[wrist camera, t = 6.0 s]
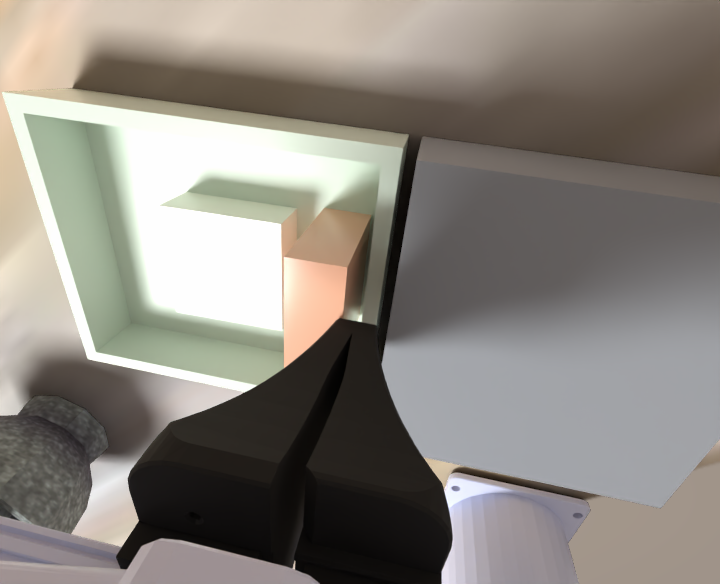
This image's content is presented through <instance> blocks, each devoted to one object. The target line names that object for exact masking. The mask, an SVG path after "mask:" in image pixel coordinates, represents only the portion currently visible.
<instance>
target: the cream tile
mask: <svg viewBox="0 0 720 584" xmlns="http://www.w3.org/2000/svg"><path fill="white" fill-rule="evenodd" d="M158 207H159V213H160V218H161V224H162V230H163V236H164V242H165V247H166V253H167V259H168V265H169V270H170V276H171V282H172V288H173V293H174V299H175V305H176V311H177V312H180V313H186V314H191V315H197V316H202V317H208V318H213V319H219V320H224V321H230V322H235V323H241V324H246V325H252V326H257V327H263V328H268V329H274V330H279V331H282V330H283V329H284V256H285V255H286V254H287V252H288V251H289V250H290V249H291V248H292V246H293V245H294V244H295V243H296V242H297V208H292V207H285V206H279V205H272V204H265V203H258V202H252V201H245V200H238V199H231V198H225V197H218V196H211V195H204V194H197V193H191V192H185V193H183V194H181V195H179V196H177V197H175V198H173V199H171V200H169V201H167V202H165V203H162V204H160V205H158Z"/></svg>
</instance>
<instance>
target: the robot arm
mask: <svg viewBox="0 0 720 584" xmlns="http://www.w3.org/2000/svg"><path fill="white" fill-rule="evenodd" d="M377 335H378V327H377V326H376V325H374V324H369V323H364V322H358V321H353V320H347V319H342V318H339V319H337V320H336V321H335V322H334V323H333V324H332V325H331V327H330V328H329V329H328V330H327V331H326V332H325V333H324V334H323V335H322V336H321V337H320V338H319V339H318V340H317V341H316V342H315V343H314V344H312V345H311V346H310V347H309V348H308V349H307V350H306V351H305V352H304V353H302V354H301V355H300V356H299V357H297V358H296V359H295V360H294V361H292V362H291V363H290V364H289V365H287V366H286V367H285V368H283V369H282V370H281V371H279V372H278V373H276V374H275V375H273V376H272V377H270V378H269V379H267V380H266V381H264V382H262V383H261V384H259V385H257V386H255V387H254V388H252V389H250V390H248V391H247V392H245V393H243V394H241V395H239V396H237V397H235V398H233V399H231V400H228V401H226V402H224V403H222V404H219V405H217V406H215V407H212V408H210V409H207V410H205V411H202V412H199V413H196V414H193V415H191V416H188V417H185V418H182V419H179V420H176V421H173V422H170V423H169V425H168V426H167V427H166V428H165V429H164V430H163V431H162V432H161V433H160V434H159V435H158V436H157V438H156V439H155V440H154V441H153V442H152V443H151V445H150V446H149V447H148V449H147V450H146V451H145V453H144V454H143V455H142V457H141V458H140V459H139V460H138V462H137V463H136V464H135V466H134V467H133V468H132V470H131V471H130V474H129V477H128V484H129V491H130V494H131V497H132V500H133V503H134V506H135V509H136V512H137V516H138V519H139V522H138V523H137V525H136V526H135V528H134V529H133V531H132V532H131V534H130V536H129V537H128V539H127V540H126V542H125V543H124V545H123V546H122V547H119V546H115V545H111V544H107V543H104V542H100V541H96V540H92V539H88V538H84V537H80V536H76V535H72V534H69V533H65V532H61V531H57V530H53V529H49V528H45V527H41V526H37V525H33V524H30V523H26V522H22V521H18V520H14V519H10V518H6V517H2V516H0V584H579V582H578V578H577V575H576V571H575V567H574V564H573V560H572V556H571V553H570V549H569V545H568V542H569V541H570V540H571V538H572V537H573V535H574V534H575V533H576V531H577V530H578V528H579V527H580V525H581V524H582V522H583V521H584V520H585V518H586V517H587V515H588V514H589V512H590V507H589V504H588V502H586V501H585V500H582V499H577V498H573V497H568V496H564V495H559V494H554V493H550V492H545V491H541V490H536V489H531V488H527V487H522V486H518V485H513V484H508V483H504V482H499V481H495V480H490V479H486V478H481V477H476V476H472V475H467V474H463V473H452V474H450V476H449V478H448V481H447V484H446V487H445V489H443V485H442V483H441V481H440V480H439V479H438V477H437V476H436V475H435V473H434V472H433V471H432V469H431V468H430V467H429V465H428V464H427V462H426V461H425V459H424V458H423V456H422V455H421V453H420V452H419V450H418V449H417V447H416V445H415V444H414V442H413V440H412V438H411V437H410V435H409V433H408V431H407V429H406V428H405V426H404V424H403V422H402V420H401V418H400V416H399V414H398V411H397V409H396V407H395V405H394V402H393V400H392V397H391V395H390V392H389V389H388V386H387V383H386V380H385V376H384V373H383V369H382V364H381V360H380V355H379V349H378V338H377ZM294 560H295V561H296V562H295V570H294V569H292V568H293V564H294Z"/></svg>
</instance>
